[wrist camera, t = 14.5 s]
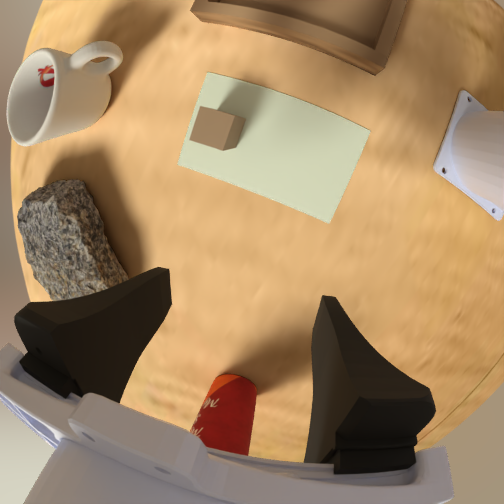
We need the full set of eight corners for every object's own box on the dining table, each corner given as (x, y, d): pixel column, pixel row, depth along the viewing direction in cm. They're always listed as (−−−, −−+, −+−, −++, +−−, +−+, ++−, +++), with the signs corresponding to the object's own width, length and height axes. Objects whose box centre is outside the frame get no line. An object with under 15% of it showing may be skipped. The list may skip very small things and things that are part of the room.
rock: (38, 188, 25) (77, 295, 31) (-1, 206, 19) (48, 323, 25) (104, 160, 22) (147, 298, 28) (54, 177, 16) (116, 337, 22)
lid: (368, 131, 18) (384, 130, 14) (328, 221, 21) (333, 241, 18) (209, 73, 18) (189, 62, 14) (179, 163, 21) (156, 171, 18)
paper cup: (202, 363, 30) (158, 464, 17) (267, 373, 29) (243, 485, 16) (208, 399, 33) (176, 485, 21) (264, 408, 32) (244, 500, 19)
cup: (136, 26, 16) (77, 2, 9) (158, 93, 18) (95, 84, 11) (59, 87, 19) (1, 90, 12) (76, 149, 22) (15, 164, 14)
